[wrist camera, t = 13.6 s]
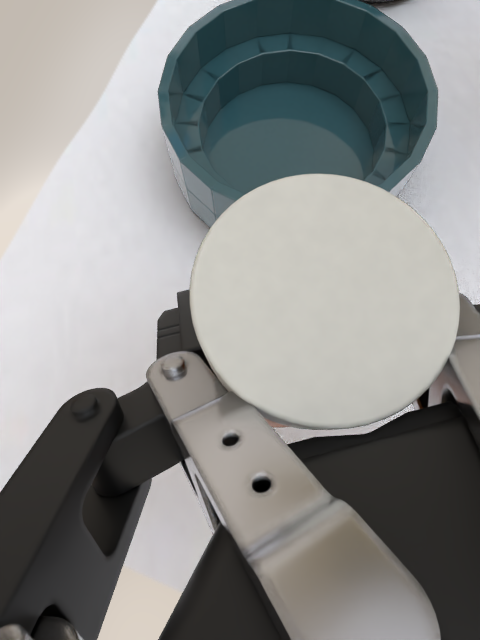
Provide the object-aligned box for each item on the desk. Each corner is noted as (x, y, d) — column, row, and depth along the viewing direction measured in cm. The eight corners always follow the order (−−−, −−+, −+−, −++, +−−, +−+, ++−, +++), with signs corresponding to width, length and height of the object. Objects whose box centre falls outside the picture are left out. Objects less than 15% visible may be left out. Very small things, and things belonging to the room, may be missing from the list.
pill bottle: (275, 297, 17) (317, 128, 8) (355, 373, 16) (518, 290, 7) (197, 371, 16) (133, 286, 7) (277, 455, 15) (333, 496, 6)
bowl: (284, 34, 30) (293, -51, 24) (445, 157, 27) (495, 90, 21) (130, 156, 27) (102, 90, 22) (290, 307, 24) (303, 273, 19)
